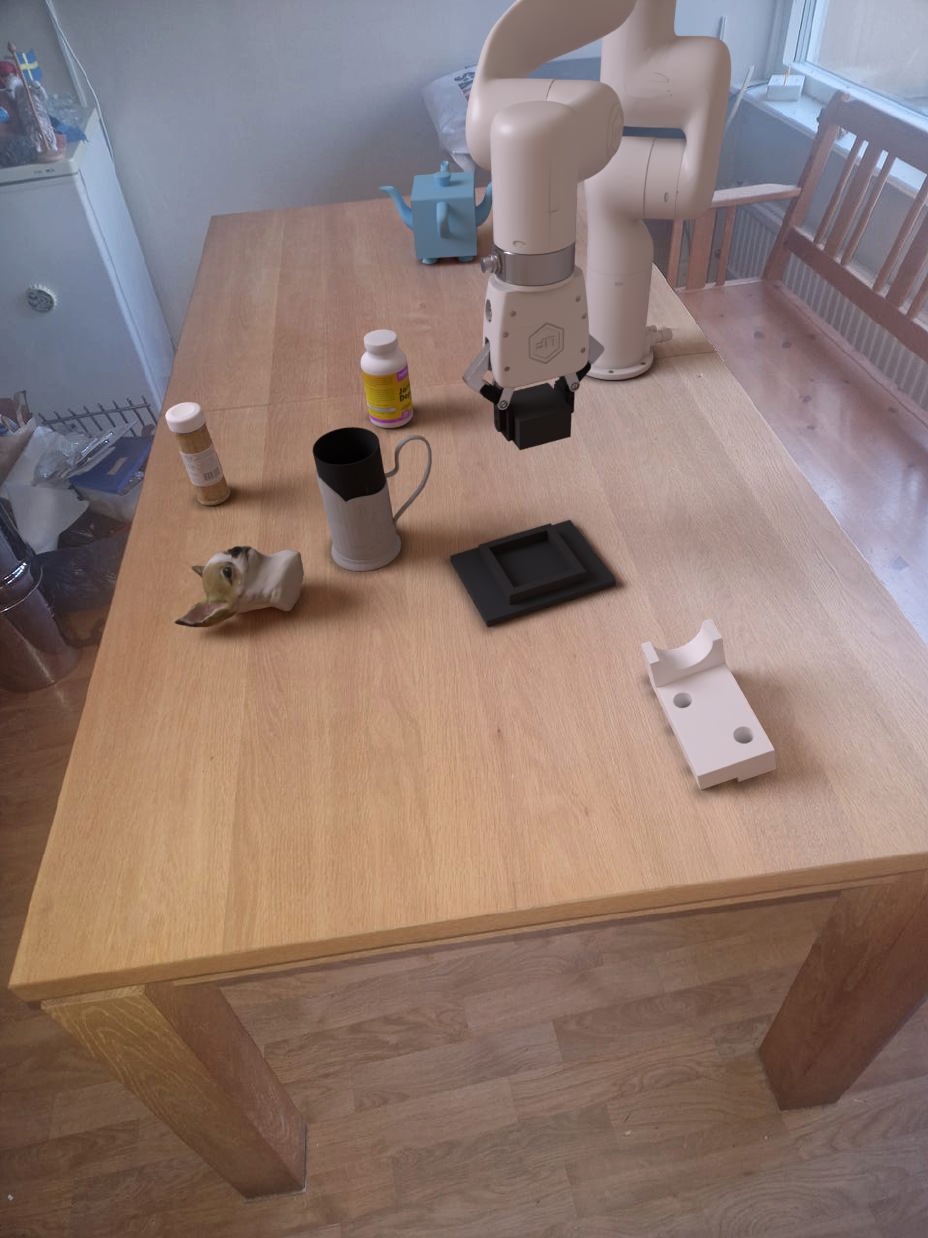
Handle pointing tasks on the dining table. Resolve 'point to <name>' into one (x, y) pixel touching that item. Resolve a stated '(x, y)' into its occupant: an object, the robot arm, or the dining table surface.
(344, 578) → the dining table surface
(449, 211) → the teakettle
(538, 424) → the black pad
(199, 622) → the ceramic sculpture
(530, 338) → the robot arm
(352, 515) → the glass holder
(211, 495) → the sprinkles bottle
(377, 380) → the supplement bottle
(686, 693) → the bracket
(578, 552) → the base pad
